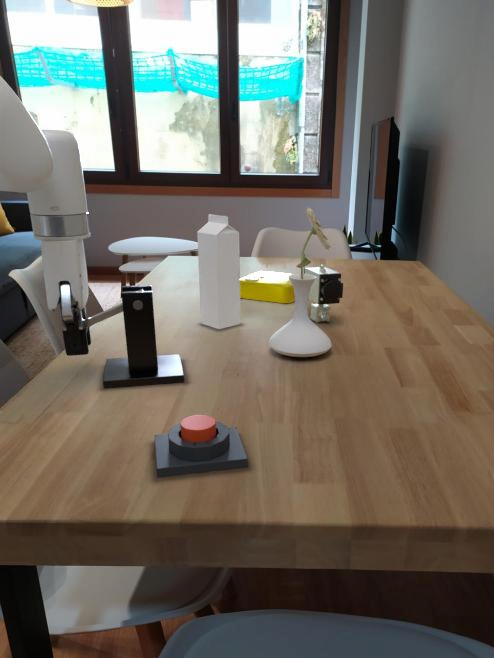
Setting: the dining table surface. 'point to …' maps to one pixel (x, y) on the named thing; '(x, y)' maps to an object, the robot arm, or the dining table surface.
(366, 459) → the dining table surface
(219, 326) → the milk
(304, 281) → the flower in vase
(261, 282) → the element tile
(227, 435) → the button housing
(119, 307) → the tap lever
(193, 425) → the button
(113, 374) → the lever base
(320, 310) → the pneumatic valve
